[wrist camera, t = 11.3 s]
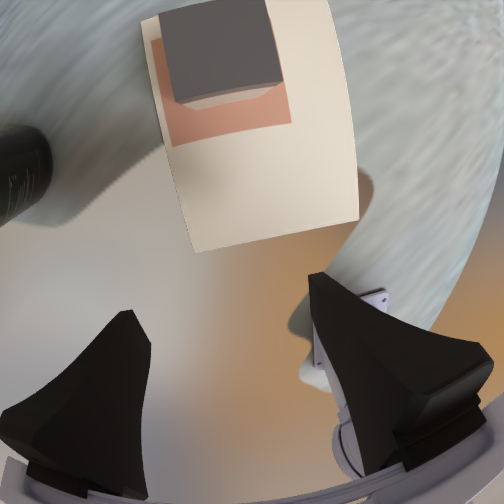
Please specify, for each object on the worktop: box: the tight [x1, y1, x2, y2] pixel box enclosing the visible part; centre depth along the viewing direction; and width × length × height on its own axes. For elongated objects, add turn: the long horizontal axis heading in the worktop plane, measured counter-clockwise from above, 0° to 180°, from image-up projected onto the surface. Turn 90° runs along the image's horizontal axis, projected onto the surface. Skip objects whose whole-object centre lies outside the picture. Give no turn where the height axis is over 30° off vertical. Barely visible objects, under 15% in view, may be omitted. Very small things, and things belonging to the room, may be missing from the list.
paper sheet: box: [141, 0, 359, 253], centre depth 16 cm, size 18×13×1 cm
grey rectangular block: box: [158, 0, 283, 110], centre depth 11 cm, size 4×4×8 cm
